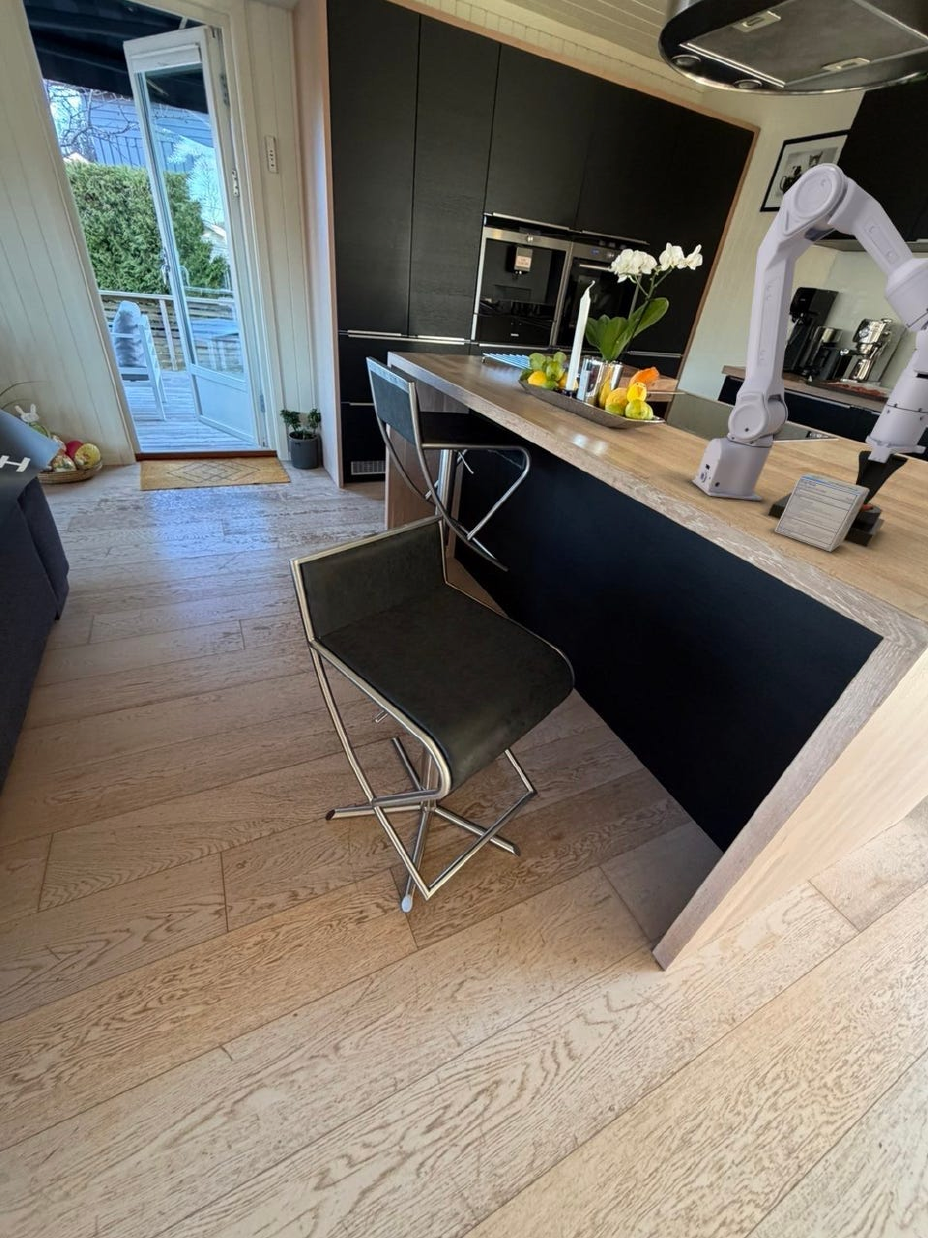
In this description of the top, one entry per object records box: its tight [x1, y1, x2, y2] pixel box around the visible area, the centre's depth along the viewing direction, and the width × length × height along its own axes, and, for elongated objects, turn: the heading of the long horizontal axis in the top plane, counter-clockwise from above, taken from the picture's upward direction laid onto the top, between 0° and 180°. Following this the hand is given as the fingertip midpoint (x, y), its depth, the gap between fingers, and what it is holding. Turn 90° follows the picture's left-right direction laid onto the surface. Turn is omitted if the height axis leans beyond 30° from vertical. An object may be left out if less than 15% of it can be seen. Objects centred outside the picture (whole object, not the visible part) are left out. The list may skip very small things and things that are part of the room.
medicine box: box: [774, 472, 869, 553], centre depth 74 cm, size 8×4×9 cm, turn 40°
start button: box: [860, 501, 874, 510], centre depth 80 cm, size 4×4×2 cm
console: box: [767, 492, 885, 548], centre depth 82 cm, size 10×14×4 cm
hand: (859, 501), depth 80 cm, fingers closed, pressing on start button
